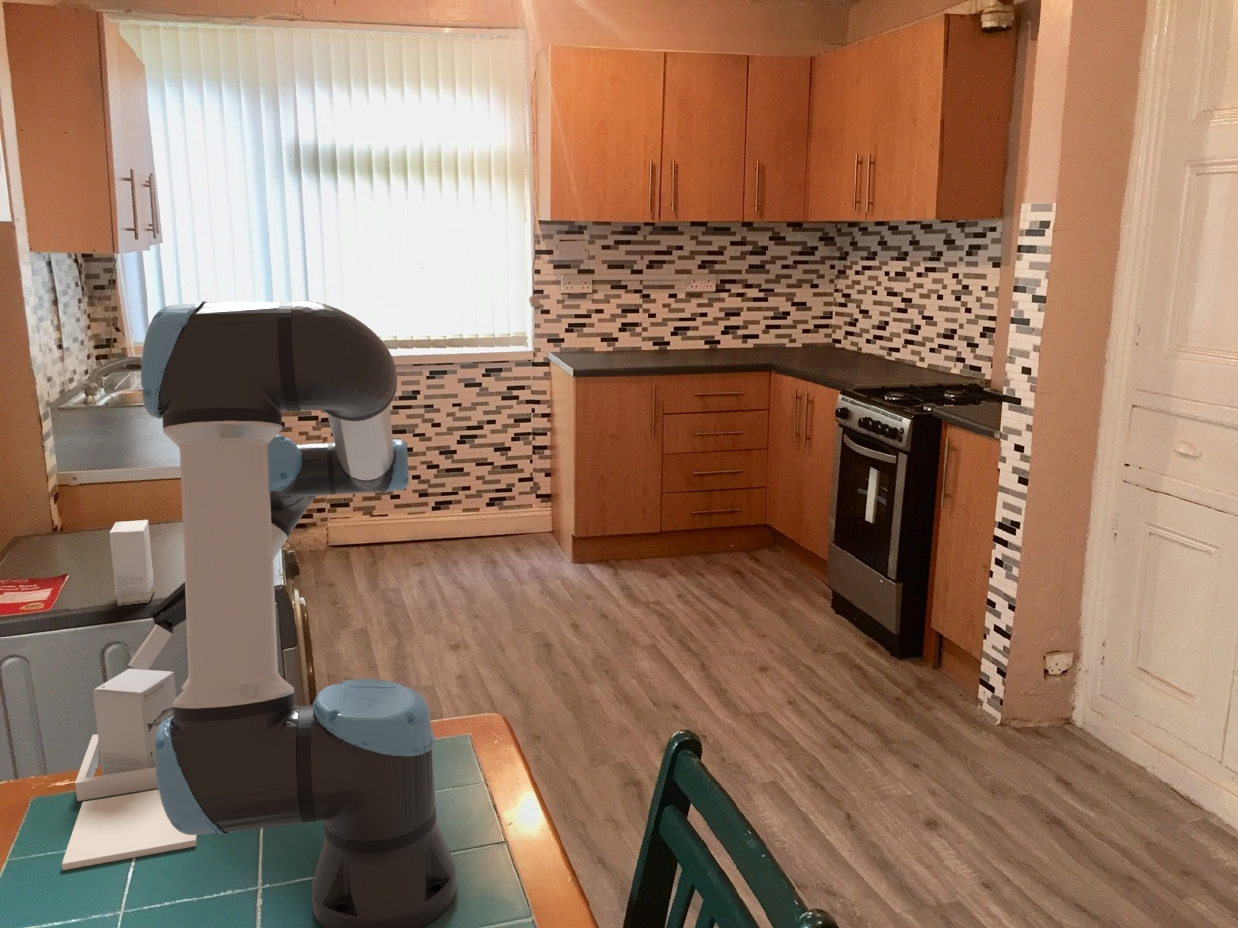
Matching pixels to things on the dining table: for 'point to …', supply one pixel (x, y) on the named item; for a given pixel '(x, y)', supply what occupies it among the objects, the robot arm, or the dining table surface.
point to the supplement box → (132, 717)
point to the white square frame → (109, 777)
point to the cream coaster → (122, 830)
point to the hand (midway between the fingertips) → (162, 681)
